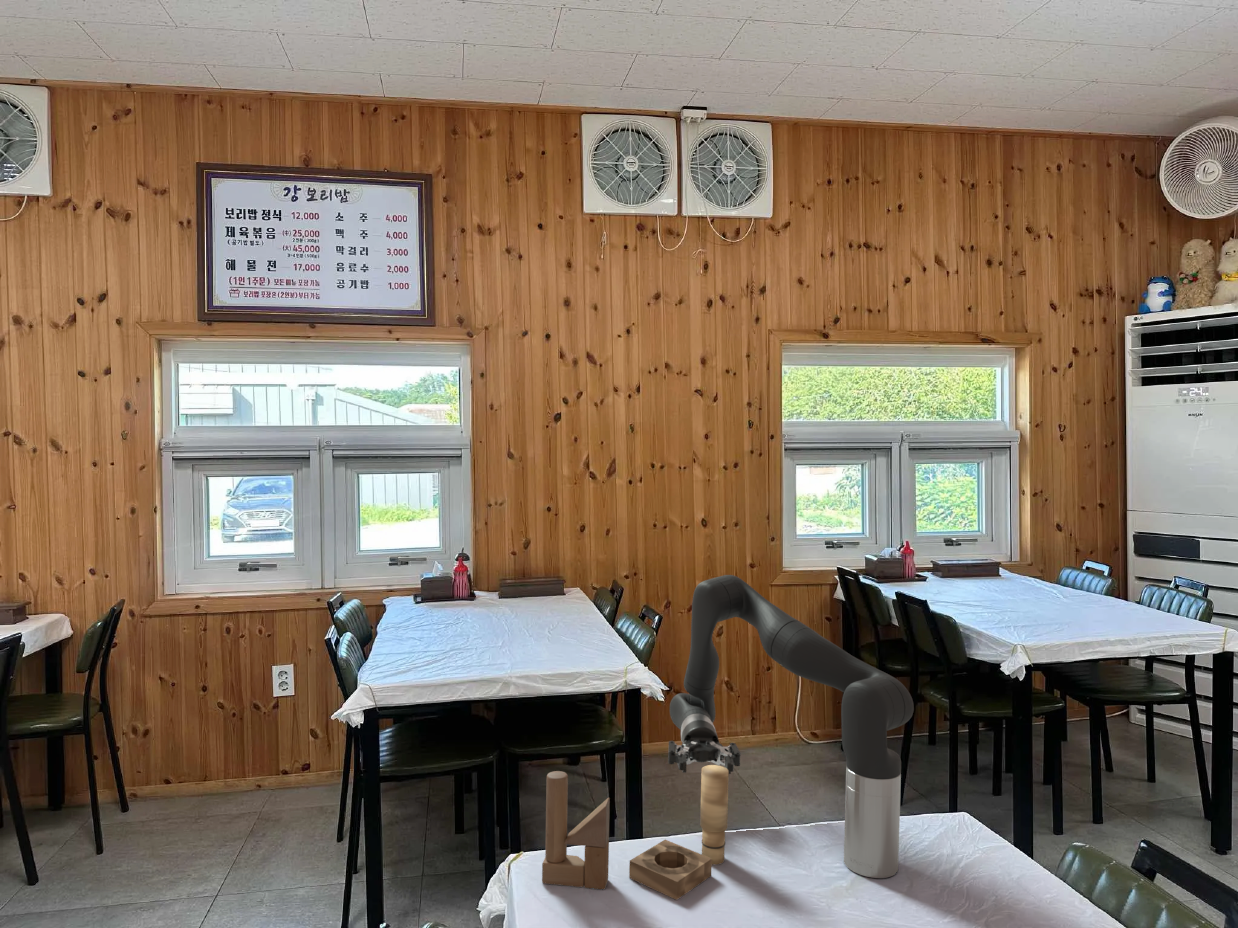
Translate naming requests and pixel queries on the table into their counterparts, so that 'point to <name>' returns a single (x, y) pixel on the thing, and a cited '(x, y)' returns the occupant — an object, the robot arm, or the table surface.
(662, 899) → the table surface
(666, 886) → the square wooden ring
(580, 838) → the wooden block
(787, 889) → the table surface
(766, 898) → the table surface
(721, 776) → the oak leg
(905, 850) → the table surface
